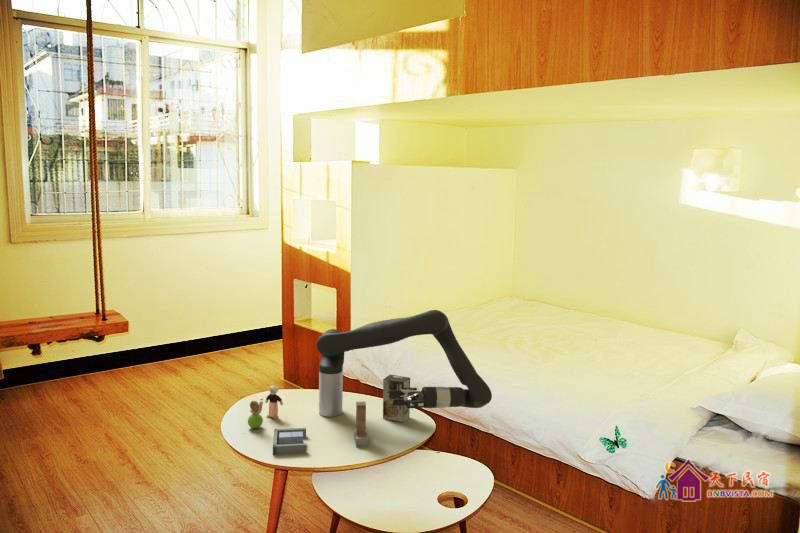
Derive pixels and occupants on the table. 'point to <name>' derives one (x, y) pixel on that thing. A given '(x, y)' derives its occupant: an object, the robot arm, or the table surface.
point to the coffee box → (388, 408)
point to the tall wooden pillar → (360, 425)
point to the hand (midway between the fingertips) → (391, 397)
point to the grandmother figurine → (273, 402)
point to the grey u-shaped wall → (288, 447)
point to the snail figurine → (255, 414)
